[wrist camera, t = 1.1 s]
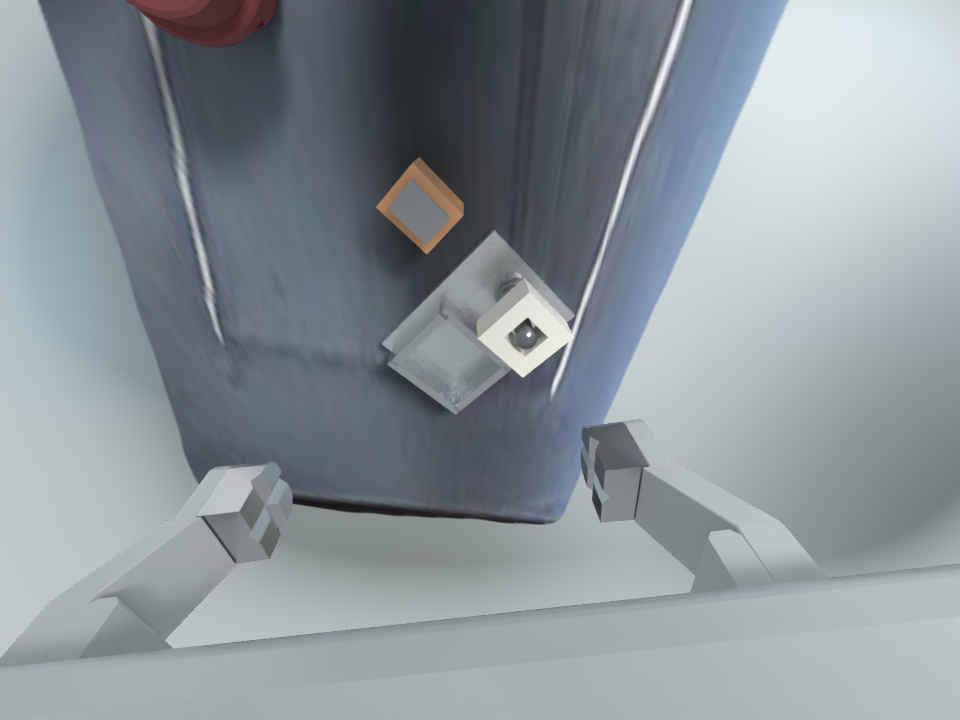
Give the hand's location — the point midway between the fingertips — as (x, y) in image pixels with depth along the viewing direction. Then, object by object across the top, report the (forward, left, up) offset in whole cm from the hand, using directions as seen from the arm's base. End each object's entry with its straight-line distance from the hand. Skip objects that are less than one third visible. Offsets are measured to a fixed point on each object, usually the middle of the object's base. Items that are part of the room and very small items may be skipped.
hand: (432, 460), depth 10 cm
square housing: (+2, +11, -28) cm, 30 cm away
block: (+2, -3, -35) cm, 35 cm away
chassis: (+8, +11, -35) cm, 38 cm away
